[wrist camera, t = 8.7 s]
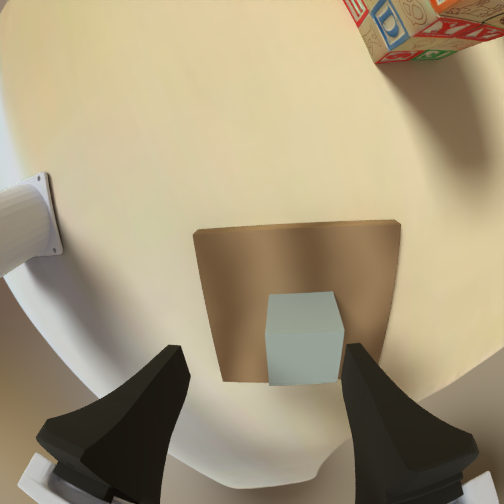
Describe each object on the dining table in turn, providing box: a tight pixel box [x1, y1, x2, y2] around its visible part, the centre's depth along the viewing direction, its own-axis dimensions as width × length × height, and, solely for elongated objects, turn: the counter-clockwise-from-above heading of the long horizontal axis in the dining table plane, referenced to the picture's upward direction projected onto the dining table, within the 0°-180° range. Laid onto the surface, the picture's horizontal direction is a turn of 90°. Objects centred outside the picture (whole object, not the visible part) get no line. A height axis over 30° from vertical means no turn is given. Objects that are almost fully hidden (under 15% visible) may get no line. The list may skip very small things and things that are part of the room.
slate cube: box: [265, 291, 345, 386], centre depth 17 cm, size 4×4×4 cm
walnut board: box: [193, 220, 401, 383], centre depth 20 cm, size 14×14×1 cm
